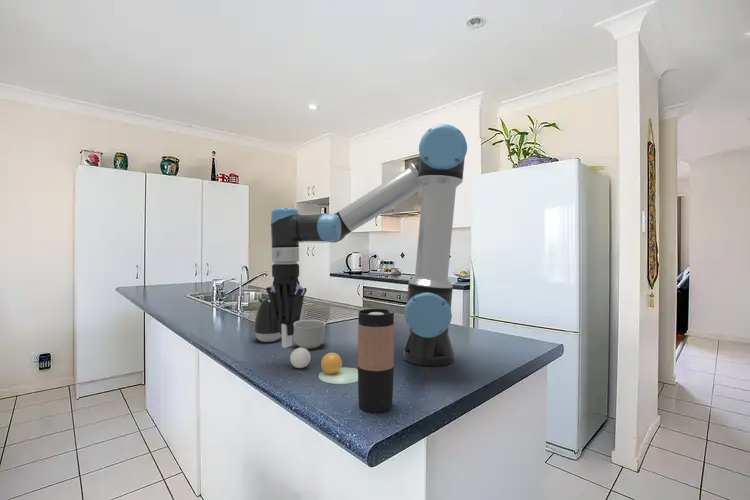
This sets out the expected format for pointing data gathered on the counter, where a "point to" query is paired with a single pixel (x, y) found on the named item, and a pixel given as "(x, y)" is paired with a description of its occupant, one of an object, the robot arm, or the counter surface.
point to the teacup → (309, 333)
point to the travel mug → (375, 360)
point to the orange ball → (331, 363)
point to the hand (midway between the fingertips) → (287, 346)
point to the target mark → (340, 376)
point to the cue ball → (300, 357)
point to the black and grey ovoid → (266, 323)
